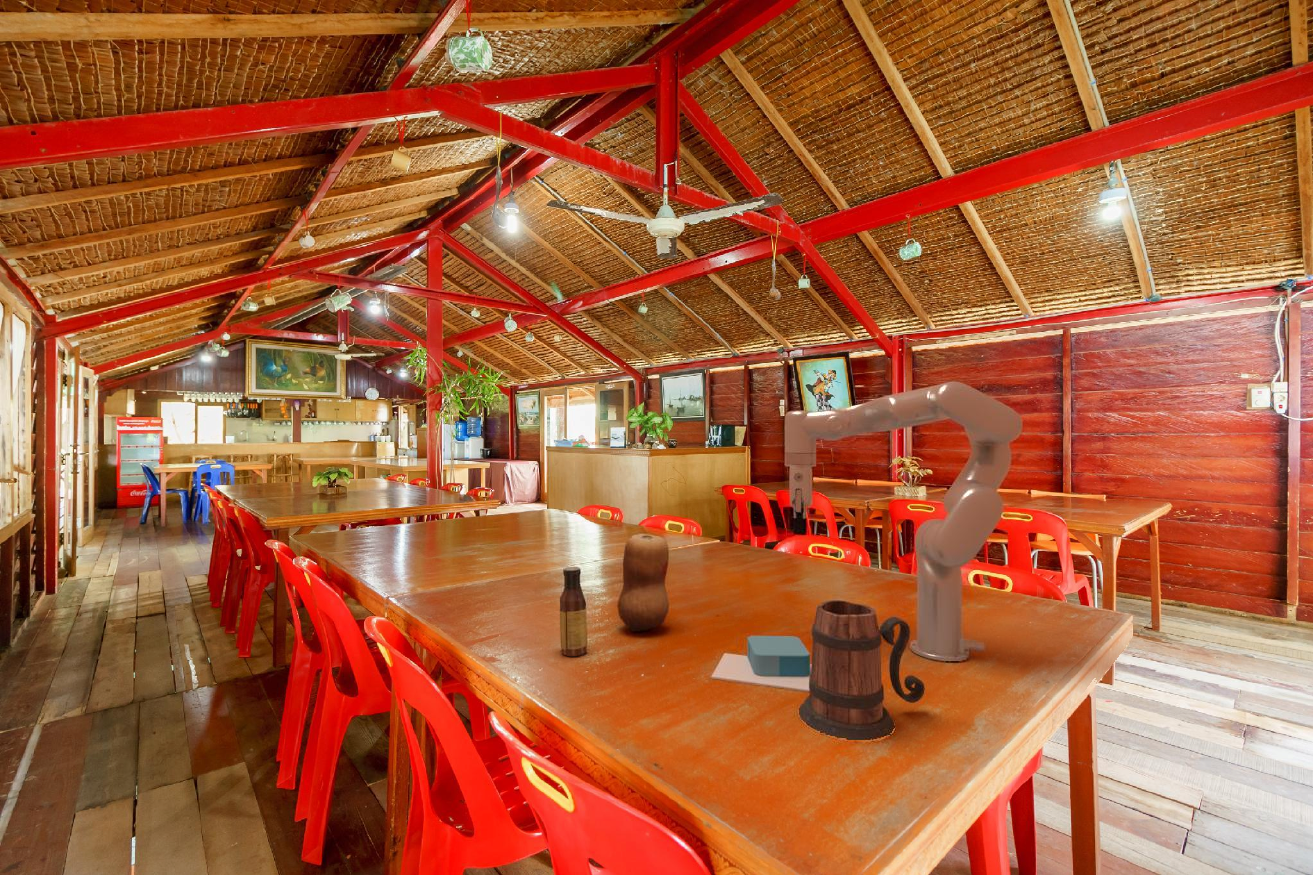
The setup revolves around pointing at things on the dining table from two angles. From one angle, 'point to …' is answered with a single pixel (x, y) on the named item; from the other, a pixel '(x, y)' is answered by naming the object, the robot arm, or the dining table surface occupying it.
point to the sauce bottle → (573, 615)
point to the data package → (778, 656)
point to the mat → (742, 672)
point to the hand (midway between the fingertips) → (799, 534)
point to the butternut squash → (644, 582)
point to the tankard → (853, 672)
